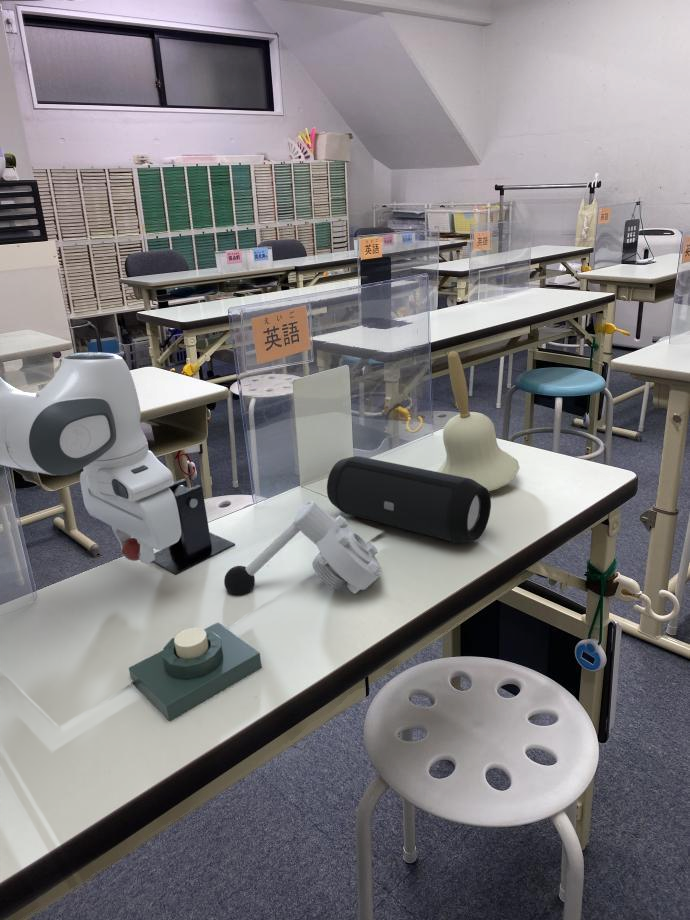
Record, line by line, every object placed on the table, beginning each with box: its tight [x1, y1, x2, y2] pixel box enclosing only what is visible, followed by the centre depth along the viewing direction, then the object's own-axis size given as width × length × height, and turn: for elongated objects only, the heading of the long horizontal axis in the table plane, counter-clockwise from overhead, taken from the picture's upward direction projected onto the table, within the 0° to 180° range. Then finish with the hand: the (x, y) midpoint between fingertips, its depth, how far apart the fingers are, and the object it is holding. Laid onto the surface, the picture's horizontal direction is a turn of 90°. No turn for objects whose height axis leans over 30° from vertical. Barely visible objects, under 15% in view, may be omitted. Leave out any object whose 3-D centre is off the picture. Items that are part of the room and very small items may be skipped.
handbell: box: [436, 350, 520, 492], centre depth 120 cm, size 15×15×25 cm
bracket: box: [151, 478, 236, 576], centre depth 103 cm, size 11×8×12 cm
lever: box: [121, 485, 189, 562], centre depth 100 cm, size 13×3×3 cm, turn 138°
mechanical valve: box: [223, 500, 383, 596], centre depth 94 cm, size 10×18×15 cm
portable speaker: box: [326, 455, 492, 544], centre depth 109 cm, size 26×10×10 cm, turn 54°
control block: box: [128, 622, 263, 722], centre depth 78 cm, size 12×9×4 cm
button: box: [173, 627, 208, 659], centre depth 77 cm, size 4×4×2 cm
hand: (138, 556), depth 98 cm, fingers closed on lever, 3 cm apart
